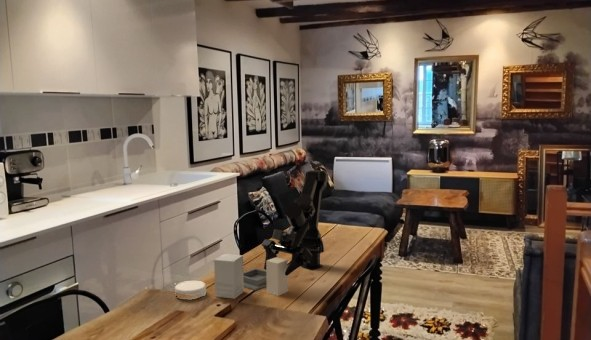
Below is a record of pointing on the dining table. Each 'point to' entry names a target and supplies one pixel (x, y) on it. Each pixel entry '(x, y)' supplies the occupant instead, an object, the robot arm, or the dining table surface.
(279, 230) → the robot arm
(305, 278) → the dining table surface
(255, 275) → the tray
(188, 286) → the white round disc
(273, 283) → the cream block
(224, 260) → the supplement box
